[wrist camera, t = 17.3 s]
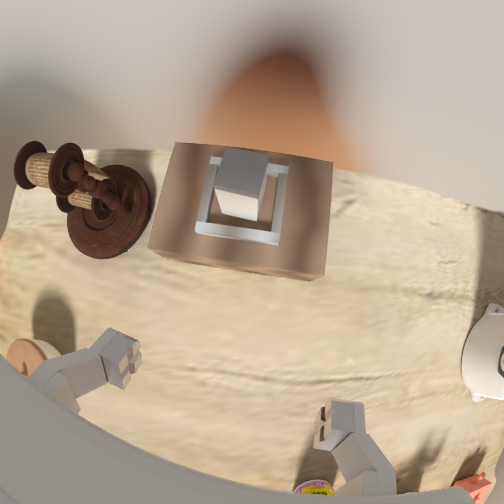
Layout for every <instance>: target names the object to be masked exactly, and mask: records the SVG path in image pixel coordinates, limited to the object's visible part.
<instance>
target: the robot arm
mask: <svg viewBox="0 0 504 504" xmlns="http://www.w3.org/2000/svg"><path fill="white" fill-rule="evenodd" d="M140 347H141V345H140V341H138V340H136V339H134V338H132V337H129V336H127V335H125V334H123V333H121V332H119V331H117V330H115V329H113V328H111V327H110V328H108V329H106V331H105V332H104V333H103V334H102V335H101V336H100V337H99V338H98V339H97V340H96V341H95V343H94V344H93V345H92V346H91V347H90V348H89V349H87V348H84V349H81V350H78V351H75V352H71V353H68V354H65V355H61V356H58V357H55V358H51V359H48V360H44V361H43V362H42V363H41V364H40V365H39V366H38V367H37V368H36V369H35V370H34V372H33V373H32V374H31V375H30V376H29V377H28V378H27V377H26V376H24V375H23V374H22V373H21V372H20V371H19V370H17V369H16V368H15V367H14V366H13V365H12V364H11V363H9V362H8V361H7V360H6V359H5V358H4V357H3V356H2V355H1V354H0V504H476V503H475V501H474V500H473V498H472V497H471V496H470V495H469V494H468V493H467V491H466V490H465V489H463V488H462V487H461V486H452V487H447V488H442V489H437V490H431V491H424V492H417V493H409V494H399V495H397V487H396V470H395V469H394V468H393V466H392V465H391V464H390V462H389V461H388V459H387V458H386V457H385V455H384V454H383V453H382V451H381V450H380V449H379V447H378V446H377V445H376V443H375V442H374V441H373V439H372V438H371V436H370V435H369V434H366V427H365V414H364V405H363V403H360V402H353V401H348V400H341V399H335V398H329V399H327V401H326V402H325V407H323V408H321V409H320V411H319V412H318V415H317V417H316V422H315V428H316V430H317V431H318V432H317V433H316V434H315V435H314V446H313V448H314V449H320V450H327V451H332V452H331V453H332V455H333V457H334V459H335V461H336V463H337V465H338V467H339V469H340V470H341V472H342V474H343V476H344V478H345V480H346V482H347V483H346V484H345V485H343V486H341V487H340V488H338V489H337V490H336V491H335V496H328V495H314V494H304V493H295V492H288V491H281V490H275V489H269V488H264V487H258V486H254V485H249V484H244V483H240V482H236V481H232V480H228V479H224V478H221V477H217V476H214V475H210V474H207V473H204V472H201V471H197V470H194V469H191V468H189V467H186V466H183V465H180V464H177V463H175V462H172V461H169V460H167V459H164V458H162V457H159V456H157V455H155V454H152V453H150V452H148V451H145V450H143V449H141V448H139V447H137V446H135V445H132V444H130V443H128V442H126V441H124V440H122V439H120V438H118V437H116V436H115V435H113V434H111V433H109V432H107V431H105V430H103V429H102V428H100V427H98V426H96V425H95V424H93V423H91V422H90V421H88V420H86V419H85V418H83V417H81V416H80V415H78V413H79V411H80V406H79V404H78V402H77V400H76V398H78V397H80V396H82V395H84V394H86V393H88V392H90V391H92V390H95V389H97V388H99V387H101V386H103V385H105V384H107V383H108V382H109V383H111V384H113V385H115V386H117V387H119V388H121V389H123V390H124V389H125V387H126V386H127V385H128V383H129V382H130V380H131V377H130V374H133V373H136V371H137V370H138V368H139V366H140V363H141V358H142V357H141V353H140V351H139V348H140ZM462 377H463V380H464V383H465V385H466V386H467V387H468V388H469V390H470V391H471V396H472V400H473V401H474V402H479V401H481V400H483V399H485V398H487V397H490V398H495V399H500V400H504V308H503V307H501V306H499V305H497V304H495V303H490V304H489V305H488V307H487V309H486V311H485V313H484V315H483V317H482V318H481V319H480V320H479V321H478V322H477V323H476V324H475V325H474V327H473V328H472V330H471V332H470V334H469V336H468V338H467V341H466V343H465V347H464V351H463V356H462Z"/></svg>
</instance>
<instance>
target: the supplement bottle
mask: <svg viewBox="0 0 504 504" xmlns="http://www.w3.org/2000/svg"><path fill="white" fill-rule="evenodd" d="M294 492H295V493H304V494H314V495H328V496H335V492H334V490H333V488H332V486H331V484H330V483H328V482H327V481H325V480H320V479H315V480H309V481H306V482H304V483H302V484H300V485H299V486H298V487H297V488H296V489H295V490H294Z"/></svg>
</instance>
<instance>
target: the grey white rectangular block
mask: <svg viewBox="0 0 504 504" xmlns="http://www.w3.org/2000/svg"><path fill="white" fill-rule="evenodd" d="M268 163H269V155H265V154H261V153H256V152H252V151H247V150H243V149H238V148H233V147H228V146H226V149H225V152H224V154H223V157H222V160H221V163H220V166H219V168H218V171H217V174H216V177H215V180H214V183H213V186H214V189H215V192H216V196H217V199H218V202H219V205H220V208H221V211H222V214H227V215H231V216H235V217H239V218H243V219H247V220H251V221H255V222H257V219H258V216H259V212H260V208H261V205H262V201H263V197H264V194H265V190H266V181H267V172H268Z"/></svg>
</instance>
